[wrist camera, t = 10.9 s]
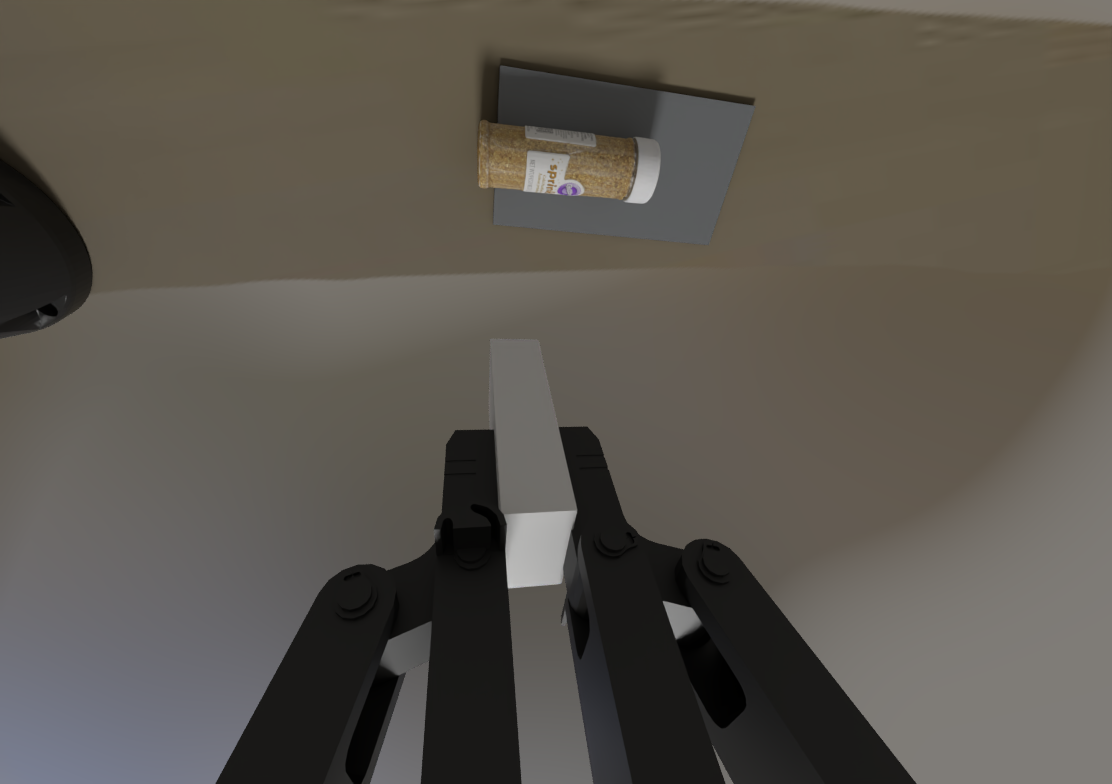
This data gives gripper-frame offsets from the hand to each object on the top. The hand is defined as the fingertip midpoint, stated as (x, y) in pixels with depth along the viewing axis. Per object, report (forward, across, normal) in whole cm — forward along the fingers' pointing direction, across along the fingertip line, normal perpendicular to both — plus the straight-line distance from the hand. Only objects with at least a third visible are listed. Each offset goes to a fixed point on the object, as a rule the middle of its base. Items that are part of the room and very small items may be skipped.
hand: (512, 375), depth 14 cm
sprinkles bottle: (+25, -1, +2) cm, 25 cm away
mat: (+27, +11, +2) cm, 29 cm away
